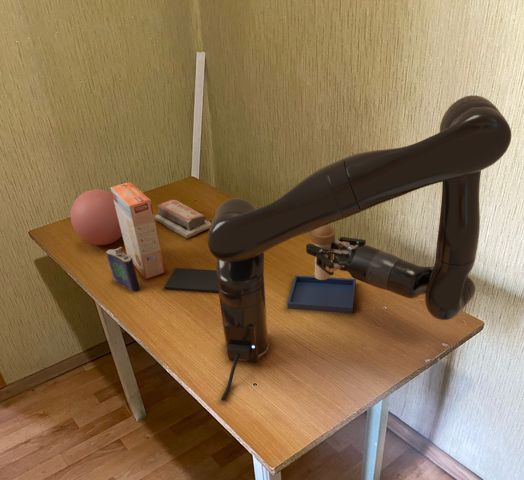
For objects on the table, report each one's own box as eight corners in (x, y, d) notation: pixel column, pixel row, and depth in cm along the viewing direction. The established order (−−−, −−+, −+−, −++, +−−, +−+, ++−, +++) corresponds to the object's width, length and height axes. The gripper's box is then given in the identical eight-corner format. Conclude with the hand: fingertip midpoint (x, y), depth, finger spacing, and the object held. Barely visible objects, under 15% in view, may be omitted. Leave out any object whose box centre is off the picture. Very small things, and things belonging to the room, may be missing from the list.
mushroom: (332, 282, 122) (334, 231, 114) (309, 281, 123) (310, 230, 115) (334, 270, 126) (336, 219, 117) (312, 269, 127) (313, 218, 118)
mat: (241, 294, 131) (240, 292, 131) (164, 289, 135) (164, 286, 134) (248, 274, 138) (248, 272, 137) (176, 270, 141) (175, 267, 141)
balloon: (155, 234, 157) (145, 184, 147) (96, 261, 147) (81, 210, 137) (127, 218, 166) (115, 170, 156) (69, 243, 156) (53, 193, 146)
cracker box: (166, 273, 141) (151, 199, 127) (145, 280, 138) (127, 206, 125) (147, 251, 150) (131, 180, 136) (127, 257, 148) (108, 186, 134)
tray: (352, 314, 123) (352, 307, 122) (287, 309, 126) (287, 303, 124) (355, 285, 132) (356, 279, 130) (295, 281, 134) (295, 275, 133)
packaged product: (150, 205, 161) (177, 194, 166) (153, 220, 164) (180, 209, 169) (184, 224, 150) (212, 212, 155) (187, 239, 153) (214, 227, 158)
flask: (112, 281, 139) (101, 245, 132) (120, 276, 141) (111, 240, 134) (134, 293, 134) (125, 256, 127) (143, 287, 136) (134, 251, 129)
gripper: (397, 239, 114) (331, 217, 123) (360, 267, 106) (293, 242, 115) (393, 268, 118) (330, 245, 127) (357, 298, 111) (293, 271, 120)
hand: (313, 244), depth 121 cm, fingers closed on mushroom, 3 cm apart
